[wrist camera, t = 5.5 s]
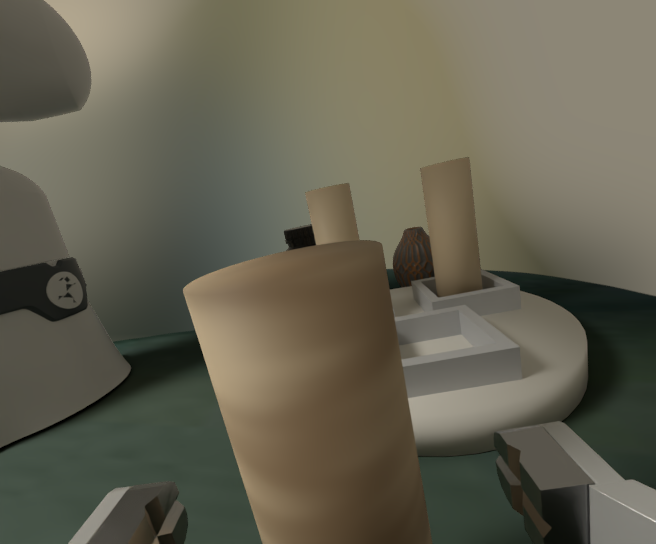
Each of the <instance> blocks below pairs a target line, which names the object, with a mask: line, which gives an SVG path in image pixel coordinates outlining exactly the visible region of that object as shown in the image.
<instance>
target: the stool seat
mask: <svg viewBox="0 0 656 544" xmlns="http://www.w3.org/2000/svg"><path fill="white" fill-rule="evenodd" d="M420 170H421V177H422V185H423V192H424V200H425V207H426V215H427V222H428V229H429V237H430V245H431V252H432V259H433V267H434V274H435V277H431V278H426V279H420V280H415V281H411V284H412V286H410V287H402V288H396V289H391V290H390V295H391V301H392V306H393V312H394V318H395V324H396V330H397V336H398V342H399V348H400V354H401V360H402V366H403V372H404V378H405V384H406V390H407V396H408V402H409V407H410V413H411V419H412V425H413V431H414V437H415V443H416V449H417V455H418V456H458V455H468V454H478V453H483V452H487V451H492V450H497V449H496V448H495V446H494V438H493V437H494V432H497V431H503V430H509V429H515V428H521V427H528V426H534V425H536V426H537V425H538V424H544V423H550V422H556V421H560V422H561V421H563V420H564V419H565V418H567V417H568V416H569V415H570V414H571V413H572V412H573V410H574V409H575V408H576V407H577V406H578V405H579V403H580V402H581V400H582V398H583V396H584V394H585V392H586V389H587V382H588V352H587V338H586V333H585V330H584V329H583V327H582V325H581V323H580V322H579V321H578V320H577V319H576V318H575V317H574V316H573V315H572V314H571V313H570V312H568V311H567V310H566V309H564V308H563V307H561V306H559V305H557V304H555V303H553V302H551V301H549V300H547V299H544V298H542V297H539V296H536V295H533V294H530V293H526V292H523V291H520V286H518V285H516V284H514V283H512V282H509V281H507V280H505V279H502V278H500V277H498V276H496V275H493V274H491V273H489V272H487V271H484V270H482V269H481V268H480V258H479V248H478V238H477V229H476V219H475V209H474V200H473V190H472V179H471V170H470V160H469V157H465V158H460V159H455V160H450V161H446V162H442V163H437V164H433V165H430V166H426V167H423V168H420ZM305 195H306V199H307V204H308V209H309V213H310V218H311V223H312V227H313V232H314V237H315V241H316V245H321V244H327V243H335V242H343V241H356V240H359V235H358V230H357V224H356V219H355V213H354V208H353V202H352V197H351V191H350V186H349V183H345V184H339V185H333V186H328V187H324V188H319V189H315V190H311V191H308V192H305Z"/></svg>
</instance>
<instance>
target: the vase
mask: <svg viewBox="0 0 656 544" xmlns="http://www.w3.org/2000/svg"><path fill="white" fill-rule="evenodd" d="M393 270H394V274H395V277H396V279H397V281H398V283H399V285H400V286H401V287H410V286H412V284H411V281H415V280H420V279H426V278H431V277H435V274H434V267H433V259H432V252H431V245H430V237H429V236H428V235H427V234H426V233H425V231H424V230H423V228H422V227H413V228H408V229H406V230H404V233H403V236H402V239H401V241H400V242H399V244H398V246H397V248H396V250H395V253H394V257H393Z"/></svg>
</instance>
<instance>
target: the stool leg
mask: <svg viewBox="0 0 656 544" xmlns="http://www.w3.org/2000/svg"><path fill="white" fill-rule="evenodd" d="M183 292H184V295H185V299H186V302H187V305H188V308H189V311H190V314H191V318H192V321H193V324H194V327H195V330H196V334H197V337H198V340H199V343H200V346H201V349H202V353H203V356H204V359H205V362H206V365H207V368H208V372H209V375H210V378H211V381H212V384H213V387H214V391H215V394H216V397H217V400H218V403H219V406H220V410H221V413H222V416H223V419H224V422H225V425H226V429H227V432H228V435H229V438H230V441H231V444H232V448H233V451H234V454H235V457H236V460H237V463H238V467H239V470H240V473H241V476H242V479H243V483H244V486H245V489H246V492H247V495H248V498H249V502H250V505H251V508H252V511H253V514H254V517H255V521H256V524H257V527H258V530H259V533H260V536H261V540H262V543H263V544H432V538H431V532H430V526H429V520H428V514H427V508H426V503H425V497H424V491H423V485H422V479H421V473H420V467H419V461H418V455H417V449H416V443H415V437H414V431H413V425H412V419H411V413H410V407H409V402H408V396H407V390H406V384H405V378H404V372H403V366H402V360H401V354H400V348H399V342H398V336H397V330H396V324H395V318H394V312H393V306H392V301H391V295H390V289H389V283H388V277H387V271H386V265H385V259H384V253H383V247H382V244H381V243H380V242H377V241H370V240H356V241H343V242H335V243H327V244H321V245H315V246H309V247H304V248H299V249H294V250H289V251H285V252H280V253H276V254H272V255H268V256H264V257H260V258H256V259H252V260H249V261H245V262H242V263H239V264H236V265H232V266H229V267H226V268H223V269H220V270H218V271H215V272H212V273H210V274H207V275H205V276H202V277H200V278H198V279H196V280H194V281H193V282H191V283H189V284H188V285H186V286H185V287H184V289H183Z"/></svg>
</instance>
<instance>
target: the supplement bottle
mask: <svg viewBox="0 0 656 544" xmlns="http://www.w3.org/2000/svg"><path fill="white" fill-rule="evenodd" d="M284 235H285V239H286V240H285V241H286V244H288V246H289V248H288V249H287V250H286V251H289V250H294V249H299V248H304V247H309V246H315V245H316V241H315V237H314V232H313V227H312V224H310V225H305V226H300V227H296V228H292V229H288V230H285V231H284Z"/></svg>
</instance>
